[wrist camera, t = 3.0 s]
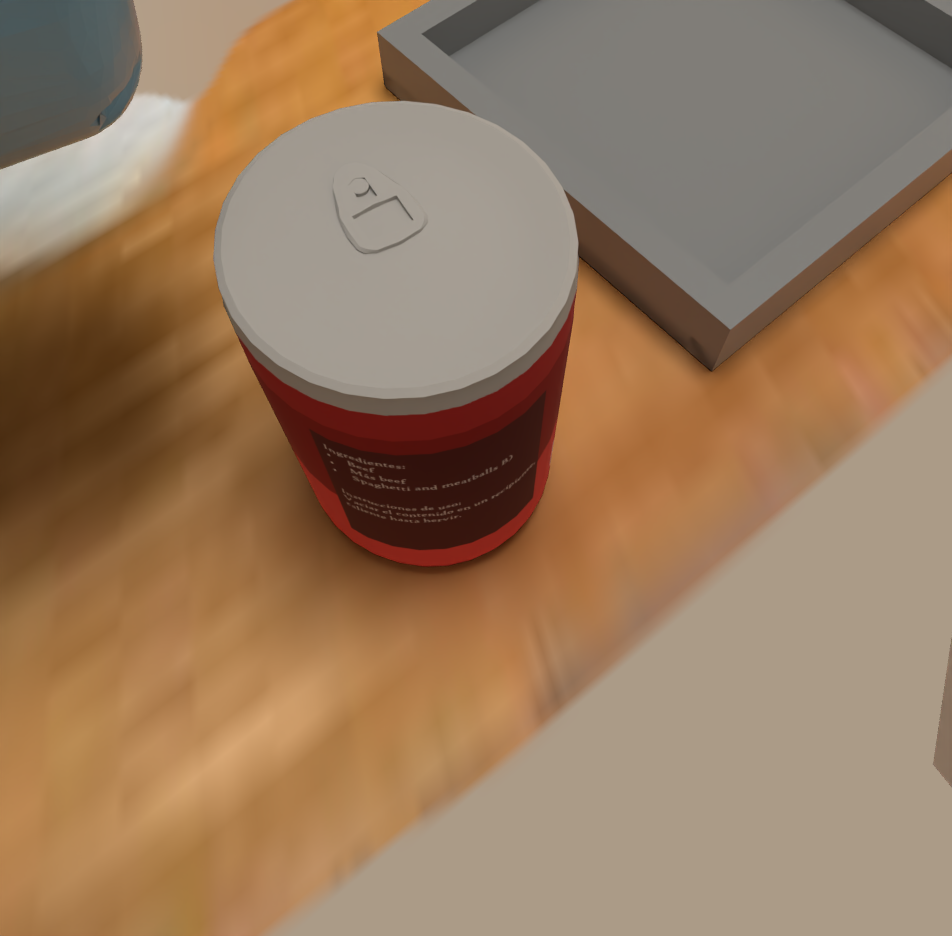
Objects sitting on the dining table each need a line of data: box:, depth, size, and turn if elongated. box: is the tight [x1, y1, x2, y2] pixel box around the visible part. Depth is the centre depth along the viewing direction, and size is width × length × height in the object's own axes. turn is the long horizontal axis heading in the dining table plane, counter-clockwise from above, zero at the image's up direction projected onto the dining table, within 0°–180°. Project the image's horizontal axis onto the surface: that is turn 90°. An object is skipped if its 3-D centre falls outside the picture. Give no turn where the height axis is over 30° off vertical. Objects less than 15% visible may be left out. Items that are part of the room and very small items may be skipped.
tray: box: [377, 0, 952, 371], centre depth 33 cm, size 18×18×2 cm
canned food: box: [214, 101, 579, 567], centre depth 23 cm, size 8×8×11 cm
